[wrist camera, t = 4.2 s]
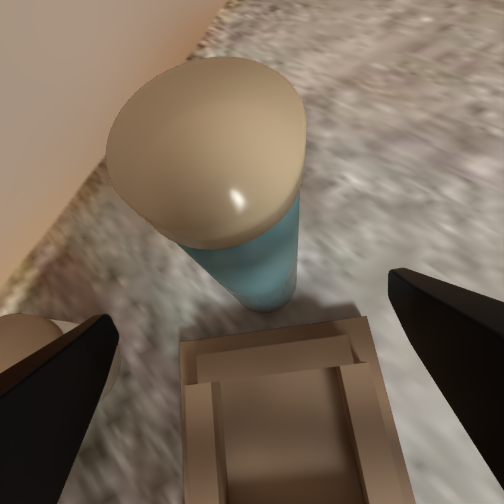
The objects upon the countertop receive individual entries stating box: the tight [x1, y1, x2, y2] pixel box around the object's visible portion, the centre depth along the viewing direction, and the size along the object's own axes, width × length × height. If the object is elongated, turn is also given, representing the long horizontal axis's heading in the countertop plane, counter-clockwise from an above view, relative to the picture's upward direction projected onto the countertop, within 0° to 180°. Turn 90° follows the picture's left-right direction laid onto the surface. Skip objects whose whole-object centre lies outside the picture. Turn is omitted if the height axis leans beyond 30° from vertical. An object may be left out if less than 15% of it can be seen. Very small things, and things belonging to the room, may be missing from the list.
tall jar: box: [106, 57, 307, 313], centre depth 13 cm, size 5×5×14 cm
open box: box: [179, 316, 416, 504], centre depth 15 cm, size 12×12×3 cm
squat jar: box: [0, 313, 120, 401], centre depth 17 cm, size 6×6×6 cm
